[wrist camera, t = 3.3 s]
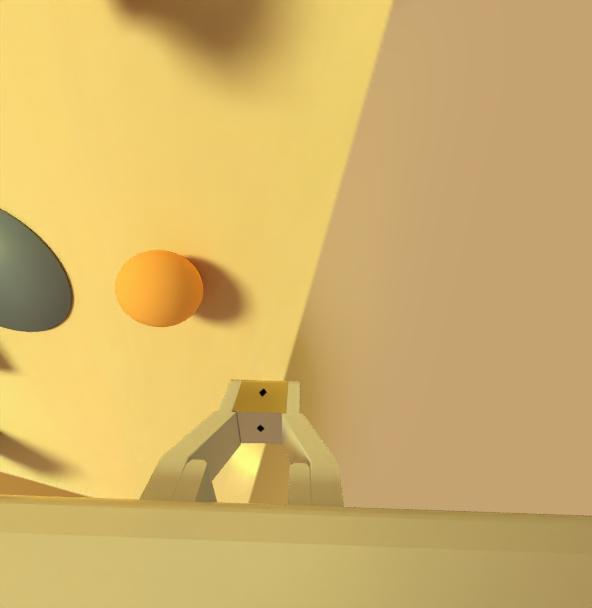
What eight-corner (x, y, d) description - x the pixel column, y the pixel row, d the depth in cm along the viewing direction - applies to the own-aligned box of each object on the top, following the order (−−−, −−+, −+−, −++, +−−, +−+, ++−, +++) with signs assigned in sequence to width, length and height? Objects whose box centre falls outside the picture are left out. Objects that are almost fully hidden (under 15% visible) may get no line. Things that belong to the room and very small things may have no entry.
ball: (137, 241, 20) (77, 263, 15) (207, 242, 20) (173, 265, 15) (155, 304, 23) (111, 341, 17) (217, 305, 23) (192, 343, 17)
